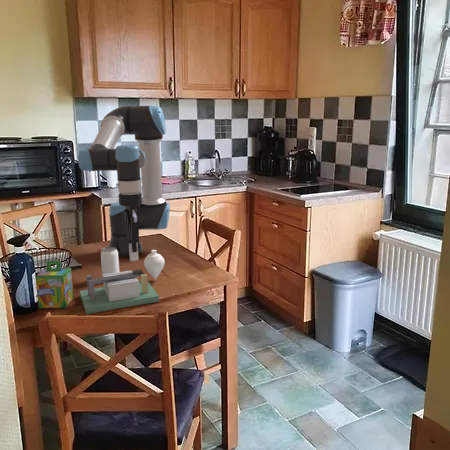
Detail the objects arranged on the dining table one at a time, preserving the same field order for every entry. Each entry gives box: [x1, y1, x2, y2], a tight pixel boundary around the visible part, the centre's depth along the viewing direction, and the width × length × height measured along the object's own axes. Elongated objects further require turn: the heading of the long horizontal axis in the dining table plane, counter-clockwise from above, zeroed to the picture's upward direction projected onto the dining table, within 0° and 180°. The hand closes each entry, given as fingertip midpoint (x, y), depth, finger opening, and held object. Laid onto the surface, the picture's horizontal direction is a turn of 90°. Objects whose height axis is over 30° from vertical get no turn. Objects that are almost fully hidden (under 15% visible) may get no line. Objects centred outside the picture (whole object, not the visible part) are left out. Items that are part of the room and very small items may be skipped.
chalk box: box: [35, 260, 74, 309], centre depth 157 cm, size 9×9×15 cm
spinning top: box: [143, 249, 165, 281], centre depth 177 cm, size 8×8×12 cm
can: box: [100, 246, 120, 278], centre depth 179 cm, size 6×6×12 cm
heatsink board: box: [79, 270, 160, 315], centre depth 160 cm, size 16×24×9 cm, turn 113°
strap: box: [89, 268, 145, 285], centre depth 160 cm, size 3×18×2 cm, turn 113°
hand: (134, 260), depth 161 cm, fingers closed
